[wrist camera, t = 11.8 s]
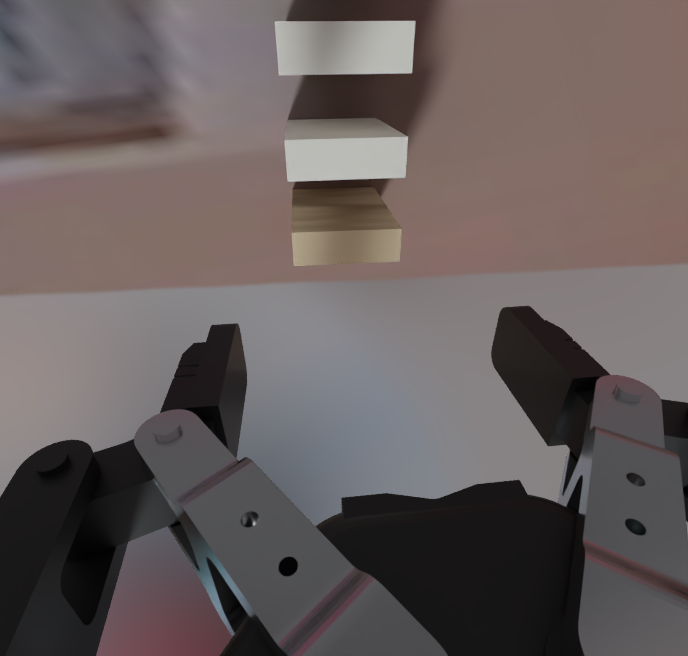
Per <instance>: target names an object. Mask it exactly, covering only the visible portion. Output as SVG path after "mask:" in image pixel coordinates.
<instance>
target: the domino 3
mask: <svg viewBox="0 0 688 656" xmlns="http://www.w3.org/2000/svg"><path fill="white" fill-rule="evenodd" d="M401 234H402V228H401V227H400V225H399V224H398V222H397V221H396V219H395V218H394V216H393V215H392V213H391V212H390V210H389V209H388V207H387V206H386V204H385V203H384V201H383V200H382V198H381V197H380V195H379V194H378V192H377V191H376V189H375V188H374V187H358V188H321V189H293V199H292V245H293V259H294V266H306V265H330V264H354V263H377V262H400V248H401Z"/></svg>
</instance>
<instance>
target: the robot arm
mask: <svg viewBox="0 0 688 656" xmlns="http://www.w3.org/2000/svg"><path fill="white" fill-rule="evenodd" d="M491 353H492V354H491V356H492V362H493V365H494V368H495V369H496V371H497V372H498V374H499V375H500V377H501V378H502V380H503V381H504V382H505V384H506V385H507V387H508V388H509V390H510V391H511V393H512V394H513V396H514V397H515V399H516V400H517V401H518V403H519V404H520V406H521V407H522V409H523V410H524V412H525V413H526V414H527V416H528V418H529V419H530V420H531V422H532V423H533V425H534V426H535V428H536V429H537V431H538V432H539V434H540V435H541V436H542V438H543V439H544V441H545V442H546V444H547V445H548V446H556V445H567V446H568V447H569V451H568V454H567V456H566V460H565V466H564V471H563V476H562V482H561V487H560V492H559V498H558V503H556V502H554V501H551V500H548V499H545V498H541V497H537V496H532V495H527V493H526V491H525V489H524V487H523V486H522V484H521V482H520V481H519V480H514V481H504V482H494V483H485V484H476V485H474V486H471V487H468V488H466V489H463V490H461V491H458V492H455V493H452V494H450V495H447V496H444V497H441V498H438V499H426V498H419V497H411V496H404V495H395V494H388V493H385V494H375V495H365V496H355V497H345V498H342V513H339V514H337V515H334V516H332V517H330V518H328V519H327V520H324V521H323V522H321V523H320V524H318V525H317V526H314V524H312V522H311V521H310V520H309V519H308V518H307V517H306V516H305V515H304V514H303V513H302V512H301V511H300V510H299V509H298V508H297V507H296V506H295V505H294V503H293V502H291V500H290V499H289V498H288V497H287V496H286V495H285V494H284V493H283V492H282V491H281V490H280V489H279V488H278V487H277V486H276V485H275V483H273V482H272V480H271V479H270V478H269V477H268V476H267V475H266V474H265V473H264V472H263V471H262V470H261V469H260V468H259V467H258V466H257V465H256V464H255V463H254V462H253V461H252V460H251V459H249V458H247V457H245V458H243V459H242V460H240V461H238V460H237V459H236V457H237V451H238V444H239V437H240V430H241V423H242V415H243V409H244V402H245V394H246V386H247V371H246V363H245V357H244V351H243V345H242V340H241V333H240V328H239V325H238V324H222V325H212V326H211V328H210V331H209V335H208V337H207V341H206V342H203V343H194V344H193V345H192V346H191V347H189V348H188V349H187V350H186V351H185V352H184V353H183V354H182V357H181V360H180V362H179V365H178V369H177V370H176V373H175V375H174V379H173V381H172V383H171V386H170V388H169V391H168V394H167V396H166V398H165V401H164V404H163V406H162V409H161V412H160V413H159V414H157V415H155V416H153V417H151V418H150V419H148V420H147V421H145V422H144V423H143V424H142V425H141V426H140V427H139V429H138V430H137V432H136V434H135V437H134V439H133V440H131V441H128V442H126V443H123V444H120V445H117V446H114V447H110V448H107V449H104V450H101V451H97V452H94V453H93V451H92V449H91V447H90V446H89V445H88V444H87V443H85V442H83V441H79V440H66V441H61V442H57V443H54V444H51V445H49V446H46V447H44V448H42V449H41V450H39V451H37V452H35V453H34V454H33V455H31V456H30V457H29V458H28V459H26V460H25V461H24V462H23V463H22V464H21V466H20V467H19V468H18V469H17V471H16V473H15V474H14V476H13V477H12V479H11V481H10V482H9V484H8V486H7V487H6V489H5V491H4V492H3V494H2V495H1V497H0V656H96V653H97V650H98V646H99V643H100V639H101V636H102V632H103V629H104V625H105V622H106V618H107V615H108V611H109V608H110V604H111V600H112V596H113V593H114V590H115V586H116V583H117V579H118V576H119V571H120V569H121V565H122V562H123V558H124V554H125V551H126V547H127V544H128V541H131V540H133V539H136V538H139V537H141V536H143V535H146V534H148V533H151V532H154V531H156V530H159V529H161V528H164V527H166V526H167V527H168V528H169V530H170V531H171V533H172V534H173V536H174V538H175V539H176V541H177V542H178V544H179V546H180V547H181V549H182V551H183V552H184V554H185V555H186V557H187V558H188V560H189V562H190V563H191V565H192V567H193V568H194V569H195V571H196V573H197V575H198V576H199V578H200V579H201V581H202V583H203V584H204V587H205V588H206V590H207V592H208V594H209V597H210V598H211V601H212V603H213V604H214V606H215V608H216V610H217V612H218V613H219V615H220V617H221V618H222V620H223V622H224V624H225V625H226V627H227V629H228V630H229V632H230V633H231V635H232V638H231V640H230V641H229V643H228V644H227V646H226V647H225V649H224V650H223V652H222V653H221V655H220V656H688V534H687V524H686V521H687V522H688V403H685V402H677V401H670V400H663V399H661V398H660V397H659V395H658V394H657V393H656V392H655V391H654V390H653V389H652V388H650V387H649V386H647V385H646V384H644V383H642V382H640V381H638V380H635V379H632V378H629V377H625V376H619V375H610V374H609V373H608V372H607V371H606V370H605V369H604V368H603V367H602V366H601V365H600V364H599V363H598V362H596V361H595V360H594V359H593V358H592V357H591V356H590V355H589V354H588V353H587V352H586V351H585V350H582V349H581V346H580V345H578V344H577V343H576V342H575V341H573V339H572V338H571V337H570V336H569V335H568V334H567V333H566V332H565V331H564V330H563V329H561V328H560V327H558V326H556V325H554V324H552V323H550V322H548V321H547V320H543V319H542V318H541V317H540V316H539V315H538V314H537V313H536V312H535V311H534V310H533V309H532V308H531V307H530V306H518V307H505V308H503V309H502V310H501V311H500V314H499V318H498V323H497V328H496V332H495V337H494V341H493V346H492V352H491Z"/></svg>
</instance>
